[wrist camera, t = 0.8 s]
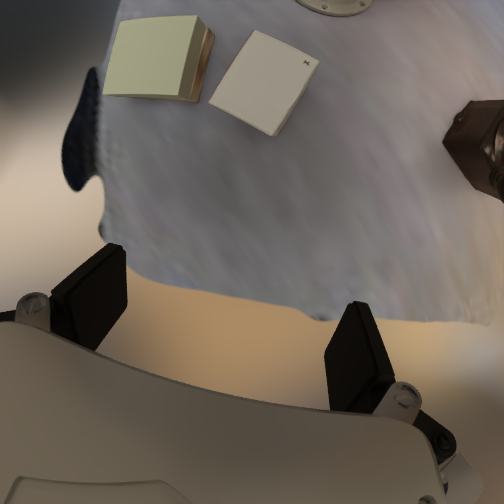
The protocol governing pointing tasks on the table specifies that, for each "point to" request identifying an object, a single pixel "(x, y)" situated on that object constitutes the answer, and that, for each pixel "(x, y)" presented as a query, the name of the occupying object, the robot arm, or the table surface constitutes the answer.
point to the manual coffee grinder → (480, 145)
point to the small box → (264, 83)
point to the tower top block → (155, 57)
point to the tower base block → (198, 69)
